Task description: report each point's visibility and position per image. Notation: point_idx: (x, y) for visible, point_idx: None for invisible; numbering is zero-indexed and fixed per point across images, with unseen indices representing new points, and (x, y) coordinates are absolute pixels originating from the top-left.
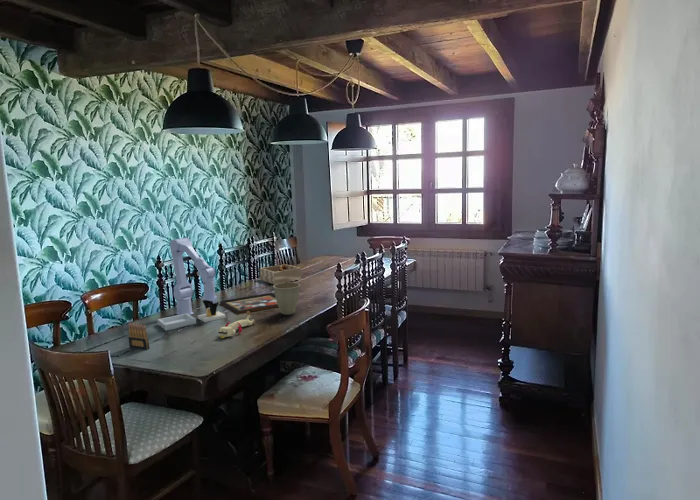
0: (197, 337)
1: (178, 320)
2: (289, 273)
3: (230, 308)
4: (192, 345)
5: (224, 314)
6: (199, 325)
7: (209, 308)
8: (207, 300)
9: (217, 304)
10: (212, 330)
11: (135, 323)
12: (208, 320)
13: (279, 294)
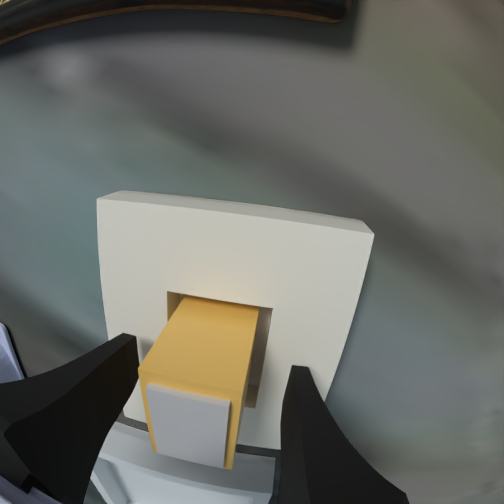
0: (474, 480)
1: (128, 468)
2: None
3: (76, 11)
4: (500, 488)
5: (343, 231)
6: None
7: (206, 454)
8: (54, 492)
9: (387, 491)
10: (490, 428)
11: None
12: None
13: None
